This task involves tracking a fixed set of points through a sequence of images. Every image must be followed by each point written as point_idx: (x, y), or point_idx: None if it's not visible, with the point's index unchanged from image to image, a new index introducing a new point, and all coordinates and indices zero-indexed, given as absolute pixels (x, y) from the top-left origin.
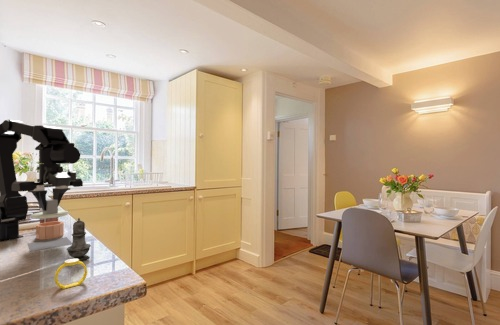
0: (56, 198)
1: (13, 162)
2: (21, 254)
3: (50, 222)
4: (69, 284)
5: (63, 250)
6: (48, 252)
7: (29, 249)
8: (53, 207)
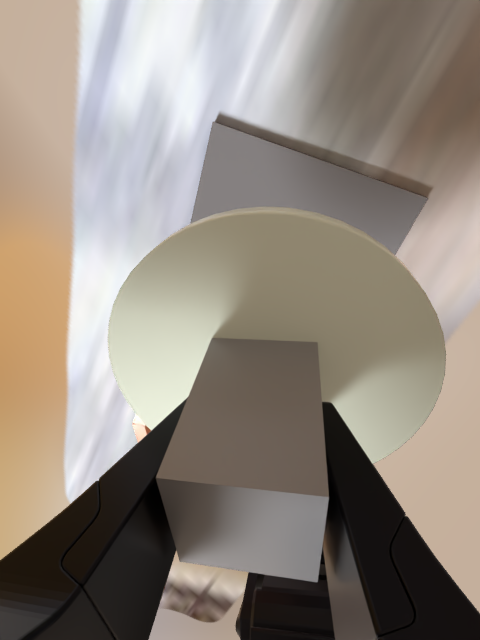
0: (148, 529)
1: None
2: (459, 216)
3: None
4: None
5: (309, 39)
6: (378, 95)
7: (397, 250)
8: (245, 388)
